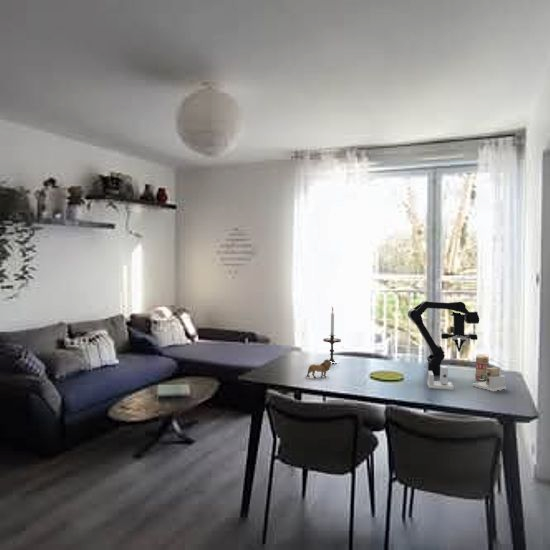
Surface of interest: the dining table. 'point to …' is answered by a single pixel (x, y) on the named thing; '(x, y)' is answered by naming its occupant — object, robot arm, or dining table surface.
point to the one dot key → (443, 374)
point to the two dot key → (491, 373)
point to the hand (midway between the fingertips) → (459, 351)
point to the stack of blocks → (481, 366)
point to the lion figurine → (319, 368)
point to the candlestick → (332, 337)
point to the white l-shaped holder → (493, 383)
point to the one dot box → (437, 383)
